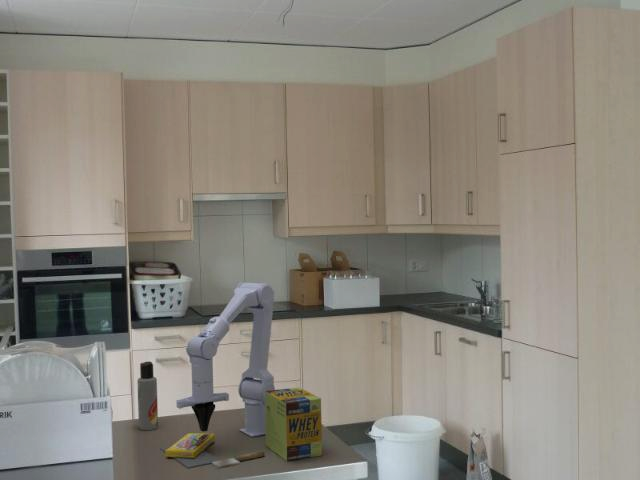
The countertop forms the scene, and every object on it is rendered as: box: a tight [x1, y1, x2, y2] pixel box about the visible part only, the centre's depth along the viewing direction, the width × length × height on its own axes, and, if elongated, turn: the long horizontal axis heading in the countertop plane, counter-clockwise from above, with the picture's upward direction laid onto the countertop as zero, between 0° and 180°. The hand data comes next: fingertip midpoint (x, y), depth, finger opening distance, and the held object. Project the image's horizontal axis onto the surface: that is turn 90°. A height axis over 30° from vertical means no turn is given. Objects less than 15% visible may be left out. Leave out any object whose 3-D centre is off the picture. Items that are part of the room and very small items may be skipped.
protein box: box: [265, 387, 323, 462], centre depth 215 cm, size 10×15×16 cm
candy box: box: [164, 432, 216, 458], centre depth 217 cm, size 16×2×8 cm
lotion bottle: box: [137, 361, 159, 431], centre depth 239 cm, size 6×6×20 cm
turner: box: [212, 450, 265, 469], centre depth 207 cm, size 14×4×1 cm, turn 122°
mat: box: [159, 444, 220, 469], centre depth 213 cm, size 9×20×1 cm, turn 32°
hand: (203, 430), depth 215 cm, fingers closed
